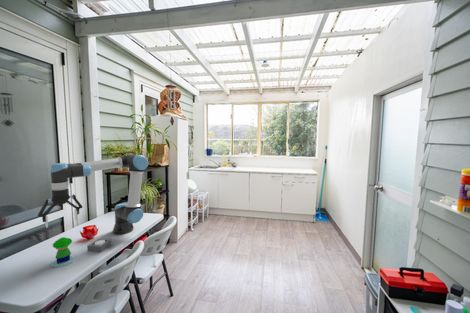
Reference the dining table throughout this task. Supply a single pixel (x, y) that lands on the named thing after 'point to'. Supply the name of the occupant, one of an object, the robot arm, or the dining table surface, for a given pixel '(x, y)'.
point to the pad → (62, 263)
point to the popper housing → (99, 246)
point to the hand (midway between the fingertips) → (62, 223)
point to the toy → (62, 249)
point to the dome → (100, 242)
